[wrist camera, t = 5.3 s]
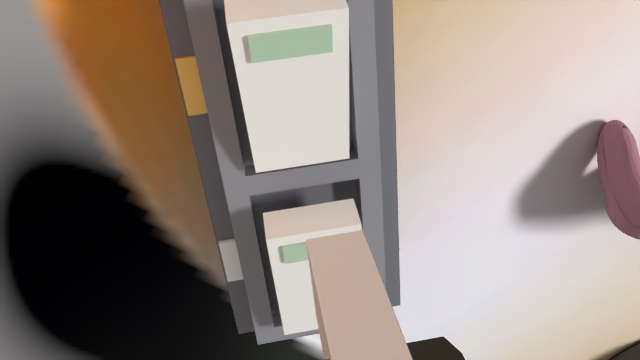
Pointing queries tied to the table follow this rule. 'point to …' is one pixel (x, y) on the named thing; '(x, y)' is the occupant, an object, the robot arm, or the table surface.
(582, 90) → the table surface
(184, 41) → the power strip
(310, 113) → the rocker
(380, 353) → the robot arm
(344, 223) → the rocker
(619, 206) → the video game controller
